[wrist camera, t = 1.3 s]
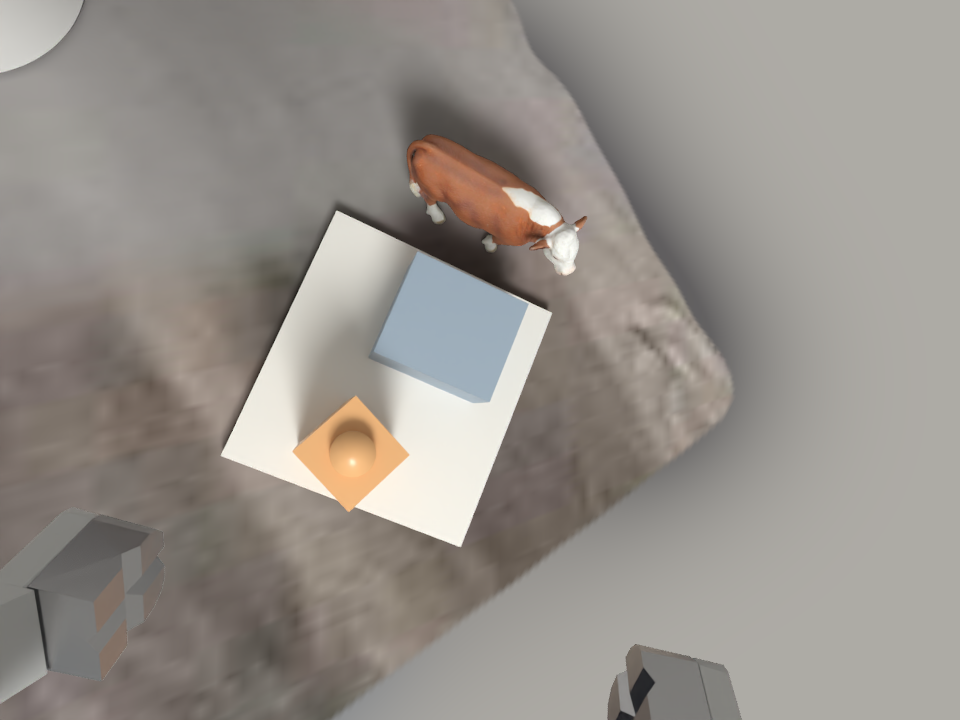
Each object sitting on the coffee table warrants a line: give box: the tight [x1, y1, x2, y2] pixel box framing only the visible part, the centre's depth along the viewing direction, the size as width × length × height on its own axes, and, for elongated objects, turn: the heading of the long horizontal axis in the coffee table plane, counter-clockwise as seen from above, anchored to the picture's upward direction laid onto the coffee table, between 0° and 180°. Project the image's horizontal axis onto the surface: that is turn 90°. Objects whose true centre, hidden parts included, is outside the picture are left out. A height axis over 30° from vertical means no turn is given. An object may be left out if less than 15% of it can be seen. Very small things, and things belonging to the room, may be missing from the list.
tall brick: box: [292, 396, 409, 512], centre depth 37 cm, size 4×4×9 cm
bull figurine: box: [407, 134, 587, 275], centre depth 43 cm, size 4×13×8 cm, turn 58°
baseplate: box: [221, 211, 552, 547], centre depth 44 cm, size 17×18×1 cm
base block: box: [368, 251, 529, 403], centre depth 42 cm, size 8×7×4 cm
